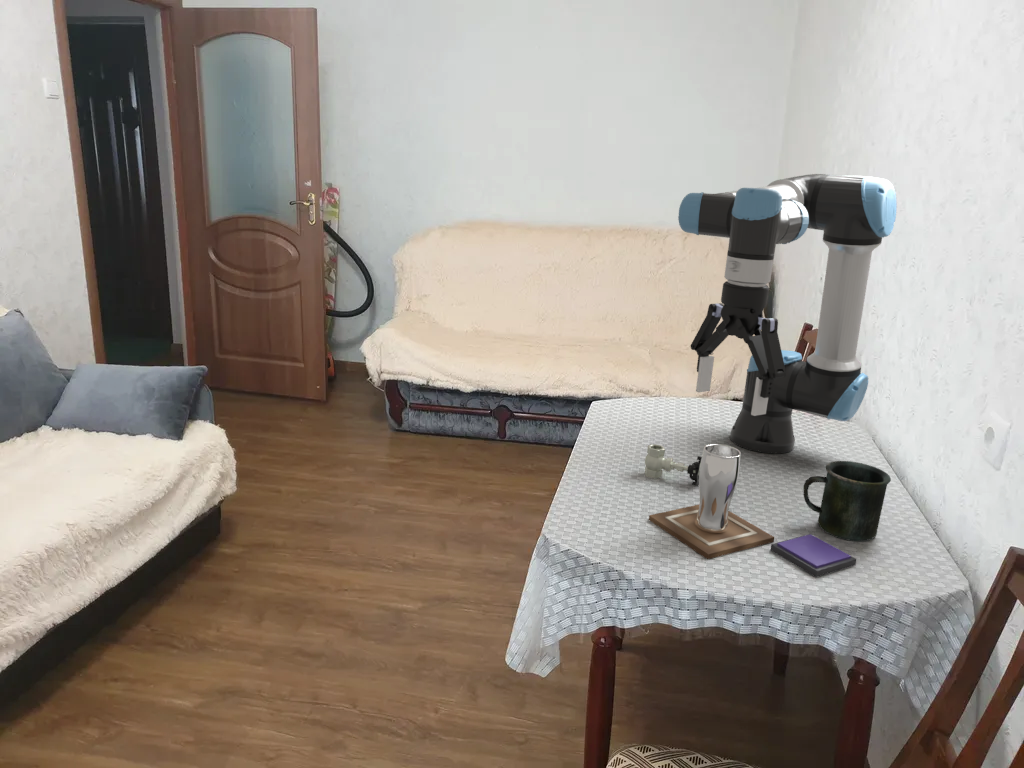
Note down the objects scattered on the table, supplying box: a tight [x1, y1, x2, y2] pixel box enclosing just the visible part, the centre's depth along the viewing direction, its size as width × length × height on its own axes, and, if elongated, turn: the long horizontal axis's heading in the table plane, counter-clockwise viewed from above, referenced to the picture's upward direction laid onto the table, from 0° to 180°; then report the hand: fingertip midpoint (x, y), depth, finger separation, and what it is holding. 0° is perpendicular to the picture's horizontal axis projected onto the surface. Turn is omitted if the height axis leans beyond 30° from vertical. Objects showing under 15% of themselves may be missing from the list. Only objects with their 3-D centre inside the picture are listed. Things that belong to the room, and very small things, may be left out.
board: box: [648, 504, 775, 560], centre depth 143 cm, size 16×16×1 cm
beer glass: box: [695, 443, 742, 534], centre depth 141 cm, size 7×7×15 cm
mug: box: [803, 460, 892, 542], centre depth 146 cm, size 11×15×12 cm
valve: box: [644, 443, 702, 487], centre depth 165 cm, size 7×7×12 cm
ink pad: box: [769, 533, 858, 578], centre depth 135 cm, size 10×10×2 cm
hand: (729, 402), depth 136 cm, fingers open, 13 cm apart
